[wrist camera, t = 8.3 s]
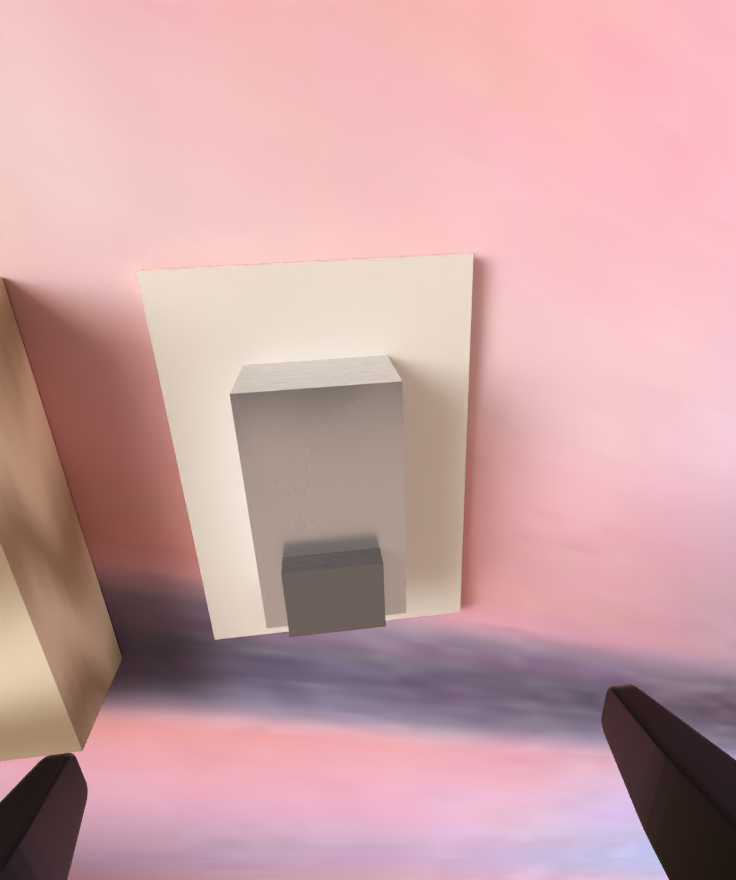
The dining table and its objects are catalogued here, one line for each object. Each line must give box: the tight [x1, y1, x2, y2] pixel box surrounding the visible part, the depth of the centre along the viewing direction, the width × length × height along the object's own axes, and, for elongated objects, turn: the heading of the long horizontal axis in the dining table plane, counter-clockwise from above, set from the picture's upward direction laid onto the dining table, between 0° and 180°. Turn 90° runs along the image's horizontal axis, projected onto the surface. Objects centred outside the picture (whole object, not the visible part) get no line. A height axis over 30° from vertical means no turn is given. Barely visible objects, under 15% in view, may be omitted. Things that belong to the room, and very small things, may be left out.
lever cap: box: [230, 355, 406, 637], centre depth 16 cm, size 8×5×4 cm, turn 2°
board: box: [136, 253, 474, 640], centre depth 18 cm, size 14×10×1 cm
